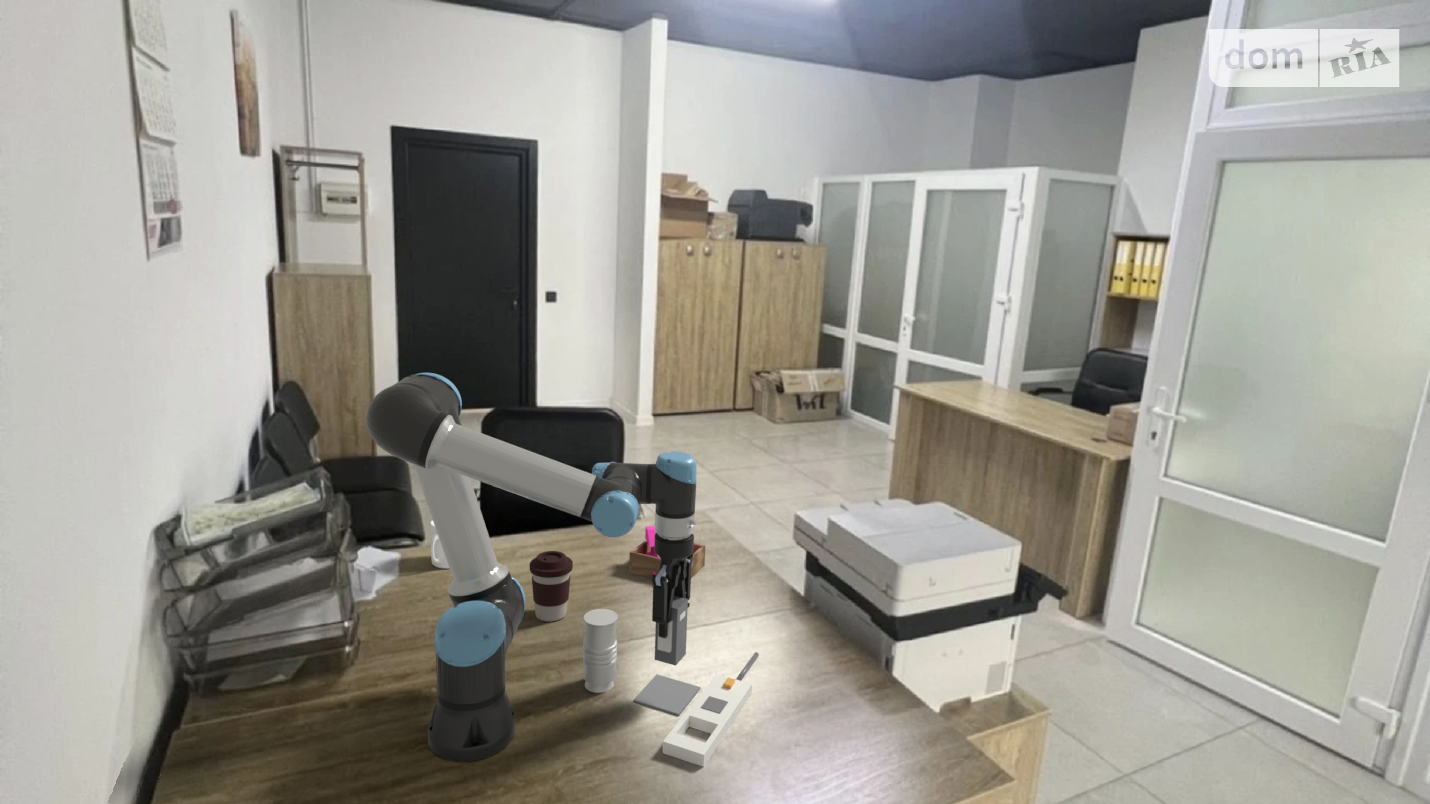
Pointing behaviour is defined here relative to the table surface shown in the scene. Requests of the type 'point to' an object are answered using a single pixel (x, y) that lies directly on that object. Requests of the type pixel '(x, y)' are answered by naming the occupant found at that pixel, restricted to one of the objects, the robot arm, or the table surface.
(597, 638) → the grey ribbed canister
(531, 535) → the table surface
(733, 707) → the power strip
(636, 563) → the display box
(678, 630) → the block
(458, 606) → the robot arm
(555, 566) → the coffee cup
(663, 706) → the mat
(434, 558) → the mug
